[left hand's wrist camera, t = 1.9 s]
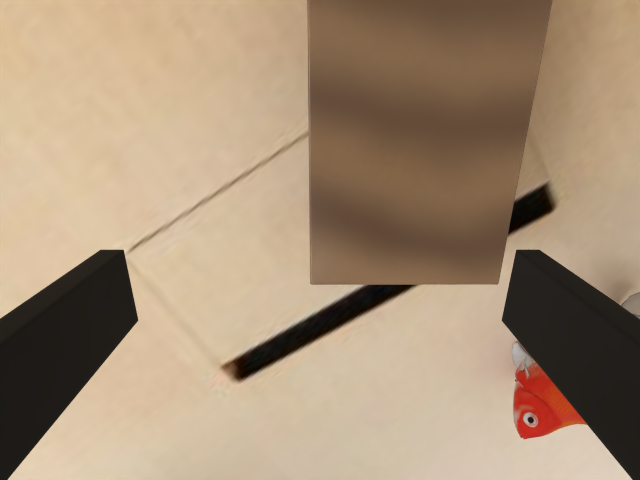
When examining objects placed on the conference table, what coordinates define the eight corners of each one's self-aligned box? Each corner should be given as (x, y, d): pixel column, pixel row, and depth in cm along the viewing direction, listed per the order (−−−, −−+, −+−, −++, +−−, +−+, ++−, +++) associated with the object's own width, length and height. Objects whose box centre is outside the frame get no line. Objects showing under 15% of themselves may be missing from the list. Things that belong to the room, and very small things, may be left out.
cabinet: (310, -55, 23) (306, -137, 15) (489, -55, 23) (579, -136, 15) (312, 236, 30) (310, 285, 22) (450, 236, 30) (498, 284, 22)
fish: (464, 343, 28) (610, 454, 20) (589, 230, 32) (750, 289, 24) (472, 406, 35) (585, 507, 27) (575, 306, 38) (699, 371, 31)
